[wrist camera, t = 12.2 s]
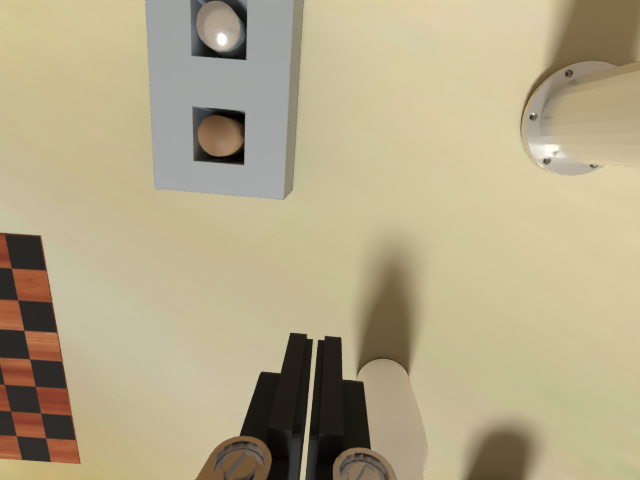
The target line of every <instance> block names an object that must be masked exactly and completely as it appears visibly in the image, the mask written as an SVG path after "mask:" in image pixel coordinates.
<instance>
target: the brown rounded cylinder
mask: <svg viewBox="0 0 640 480" xmlns="http://www.w3.org/2000/svg"><path fill="white" fill-rule="evenodd" d="M198 140H199V143H200V145H201V147H202V148H203V149H204V150H205V151H206V152H207V153H209V154H210V155H213V156H228V155H237V154H244V153H245V122H243V121H240V120H236V119H231V118H227V117H223V116H218V115H214V116H209V117H207V118H206V119H204V120H203V121H202V123H201V124H200V126H199V129H198Z"/></svg>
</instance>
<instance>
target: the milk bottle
mask: <svg viewBox="0 0 640 480" xmlns="http://www.w3.org/2000/svg"><path fill="white" fill-rule="evenodd" d="M357 381H363V383H364V390H365V399H366V408H367V417H368V426H369V435H370V443H371V450H373V451H375V452H377V453H379V454H380V455H382V456H383V457H384V458H385V459H386V460H387V461H388V462H389V463H390V464H391V466H392V468H393V470H394V472H395V474H396V477H397V480H423V479H424V471H425V467H426V463H427V455H428V447H427V439H426V434H425V430H424V426H423V423H422V419H421V416H420V413H419V409H418V406H417V402H416V399H415V396H414V393H413V389H412V386H411V383H410V380H409V377H408V374H407V372H406V370H405V369H404V368H403V367H402V366H401V365H400V364H398V363H397V362H395V361H392V360H390V359H376V360H373V361H370V362H369V363H367V364H366V365H365V366H363V367H362V369H361V370H360V372H359V374H358V376H357Z"/></svg>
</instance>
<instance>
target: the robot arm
mask: <svg viewBox="0 0 640 480" xmlns="http://www.w3.org/2000/svg"><path fill="white" fill-rule="evenodd" d="M565 74H566V76H565ZM530 115H531V119H530ZM521 133H522V141H523V144H524V147H525V150H526V152H527V153H528V155H529V157H530V158H531V159H532V160H533V162H534V163H535V164H536V165H538V166H539V167H541V168H542V169H543V170H546V171H548V172H551V173H553V174H559V175H566V176H576V175H583V174H587V173H590V172H593V171H595V170H598V169H600V168H602V167H604V166H616V167H628V168H640V61H638V62H634V63H630V64H627V65H623V66H619V67H617V66H615V65H612V64H610V63H608V62H602V61H584V62H579V63H575V64H572V65H569V66H566V67H564V68H562V69H560V70H558V71H556V72H554V73H553V74H552V75H550V76H549V77H548V78H546V79H545V80H544V81H543V82H542V83H541V84H540V85H539V86H538V87H537V88H536V90H535V91H534V93H533V94H532V96H531V97H530V99H529V101H528V103H527V105H526V108H525V110H524V114H523V118H522V126H521ZM544 159H545V161H544V162H543V160H544ZM312 345H313V339H307V334H299V333H290V337H289V341H288V345H287V349H286V353H285V357H284V362H283V366H282V370H281V373H271V372H261V373H260V376H259V378H258V381H257V385H256V388H255V391H254V394H253V397H252V400H251V403H250V406H249V409H248V412H247V415H246V418H245V421H244V424H243V427H242V430H241V433H240V436H238V437H233V438H230V439H228V440H225V441H224V442H222V443H221V444H220V445H218V446H217V447H216V448H215V449H214V451H213V452H212V453H211V454H210V456H209V458H208V460H207V461H206V463H205V465H204V466H203V468H202V470H201V471H200V473H199V475H198V477H197V478H196V480H300V471H301V462H302V452H303V443H304V434H305V425H306V416H307V405H308V393H309V381H310V369H311V357H312ZM305 480H397V477H396V474H395V472H394V470H393V468H392V466H391V464H390V463H389V462H388V461H387V460H386V459H385V458H384V457H383V456H382V455H380V454H379V453H377V452H375V451H373V450H371V443H370V435H369V426H368V417H367V408H366V399H365V390H364V383H363V381H353V380H343V379H342V343H341V337H331V336H325V340H318V347H317V358H316V368H315V379H314V390H313V400H312V411H311V422H310V433H309V444H308V455H307V467H306V478H305Z"/></svg>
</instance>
